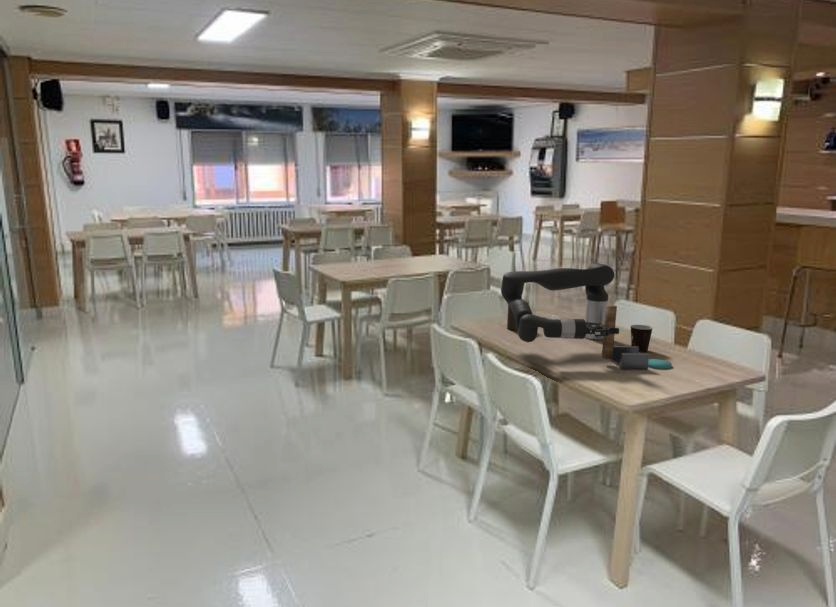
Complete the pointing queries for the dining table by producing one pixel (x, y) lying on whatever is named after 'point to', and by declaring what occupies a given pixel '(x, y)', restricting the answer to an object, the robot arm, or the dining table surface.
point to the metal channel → (629, 358)
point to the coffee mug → (641, 336)
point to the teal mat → (659, 364)
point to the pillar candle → (512, 318)
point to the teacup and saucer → (555, 317)
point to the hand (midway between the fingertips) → (616, 329)
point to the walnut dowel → (609, 340)
